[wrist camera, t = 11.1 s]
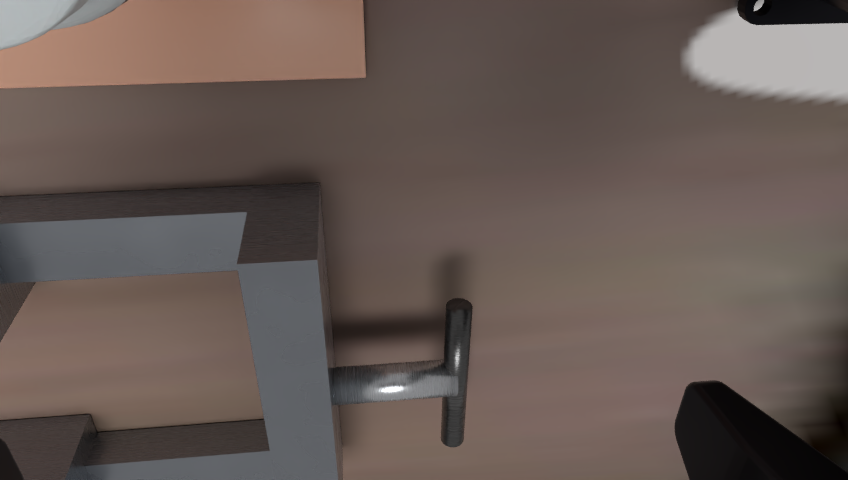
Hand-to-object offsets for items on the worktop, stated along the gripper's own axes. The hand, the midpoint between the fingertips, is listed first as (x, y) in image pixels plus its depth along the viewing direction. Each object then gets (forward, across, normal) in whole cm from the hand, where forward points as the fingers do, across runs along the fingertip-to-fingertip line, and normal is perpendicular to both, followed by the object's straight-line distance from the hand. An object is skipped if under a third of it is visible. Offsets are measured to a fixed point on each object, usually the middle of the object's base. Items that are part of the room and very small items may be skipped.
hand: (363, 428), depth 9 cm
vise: (+12, +5, +9) cm, 16 cm away
